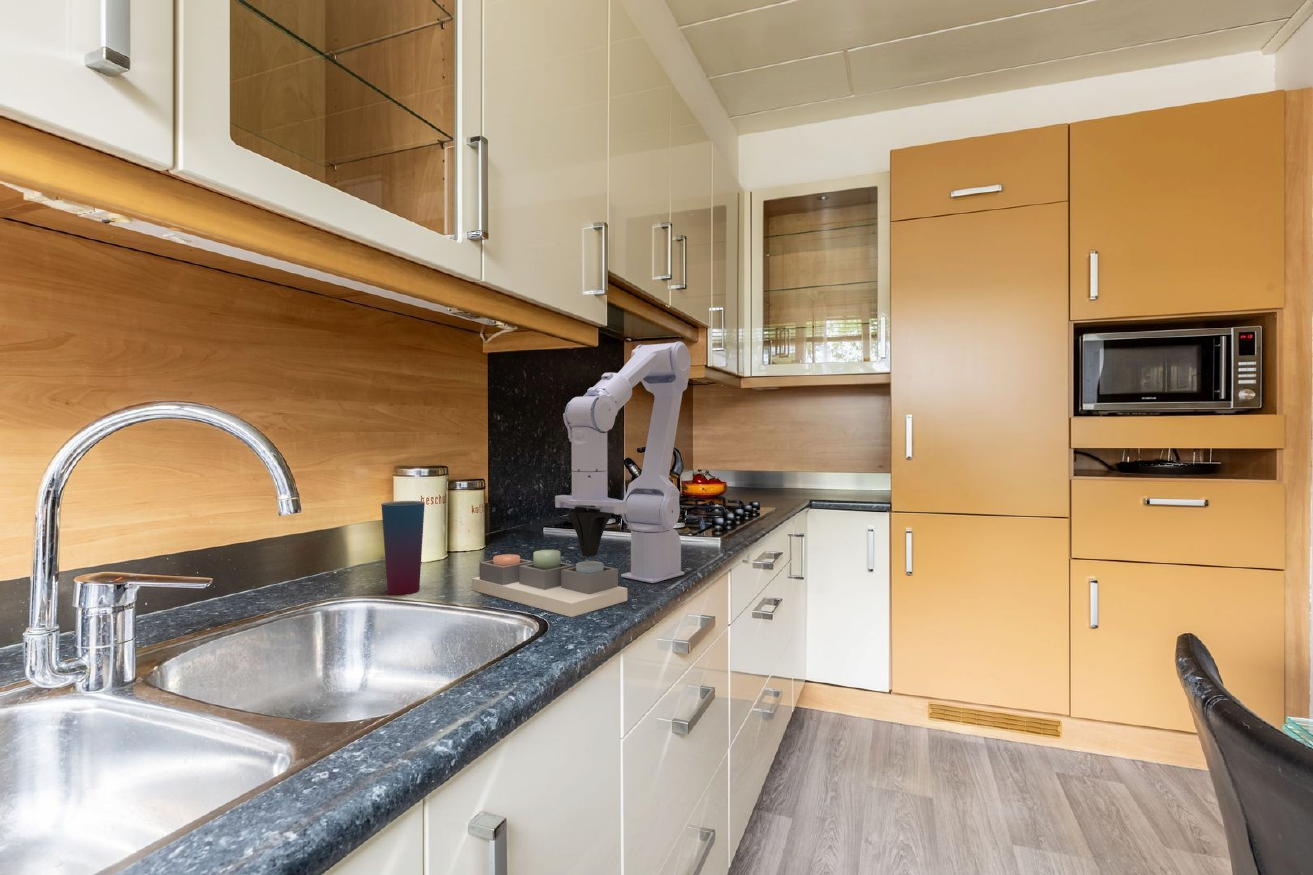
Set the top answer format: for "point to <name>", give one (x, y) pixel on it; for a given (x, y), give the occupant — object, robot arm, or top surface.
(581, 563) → the button blue
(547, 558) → the button green
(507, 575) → the panel
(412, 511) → the cup
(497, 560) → the button terracotta
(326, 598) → the top surface
